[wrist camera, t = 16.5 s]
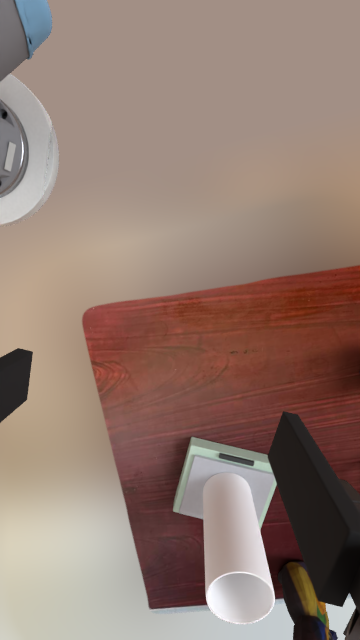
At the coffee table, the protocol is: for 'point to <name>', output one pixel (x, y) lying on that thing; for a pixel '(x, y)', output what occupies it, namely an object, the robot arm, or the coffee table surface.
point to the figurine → (304, 604)
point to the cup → (234, 552)
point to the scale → (217, 459)
